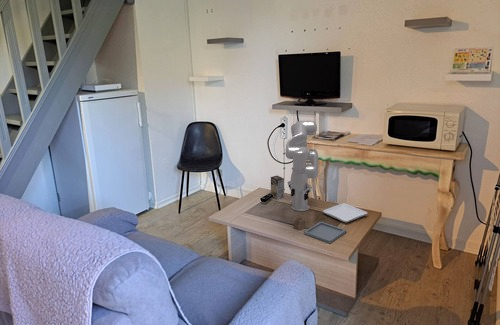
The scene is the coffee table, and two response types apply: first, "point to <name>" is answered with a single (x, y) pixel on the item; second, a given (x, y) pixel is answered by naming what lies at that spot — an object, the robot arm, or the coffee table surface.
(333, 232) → the slate dish
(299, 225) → the walnut block
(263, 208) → the coffee table surface
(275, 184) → the coffee box
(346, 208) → the salad plate
